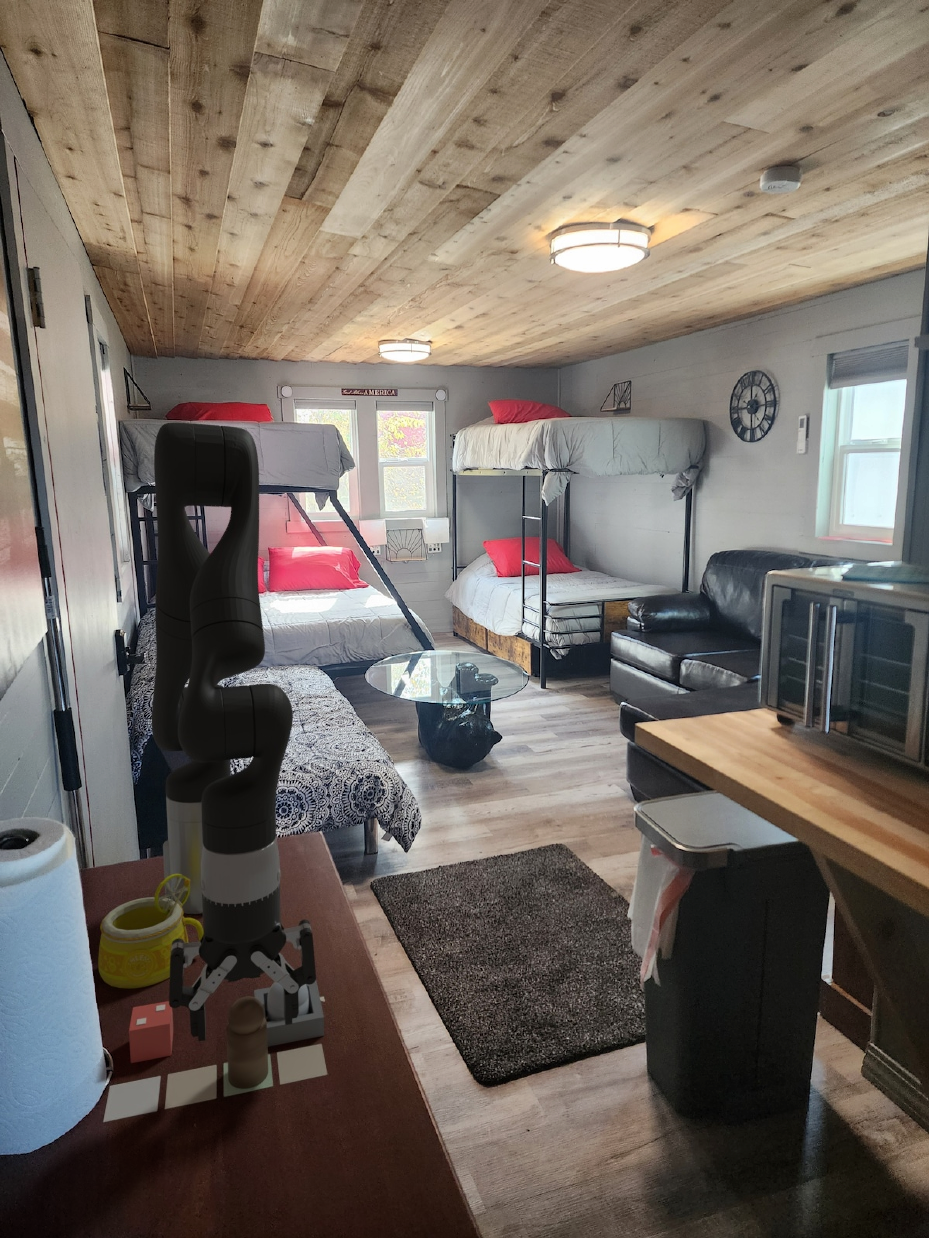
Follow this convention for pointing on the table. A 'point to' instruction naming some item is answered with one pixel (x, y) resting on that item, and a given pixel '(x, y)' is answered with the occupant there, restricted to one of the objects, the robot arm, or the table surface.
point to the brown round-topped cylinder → (247, 1043)
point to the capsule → (277, 1002)
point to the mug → (143, 938)
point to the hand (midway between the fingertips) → (245, 1027)
